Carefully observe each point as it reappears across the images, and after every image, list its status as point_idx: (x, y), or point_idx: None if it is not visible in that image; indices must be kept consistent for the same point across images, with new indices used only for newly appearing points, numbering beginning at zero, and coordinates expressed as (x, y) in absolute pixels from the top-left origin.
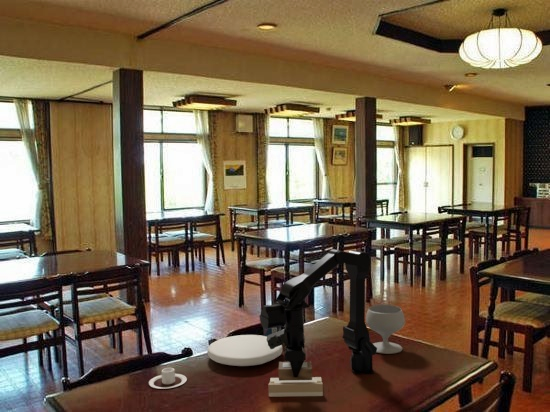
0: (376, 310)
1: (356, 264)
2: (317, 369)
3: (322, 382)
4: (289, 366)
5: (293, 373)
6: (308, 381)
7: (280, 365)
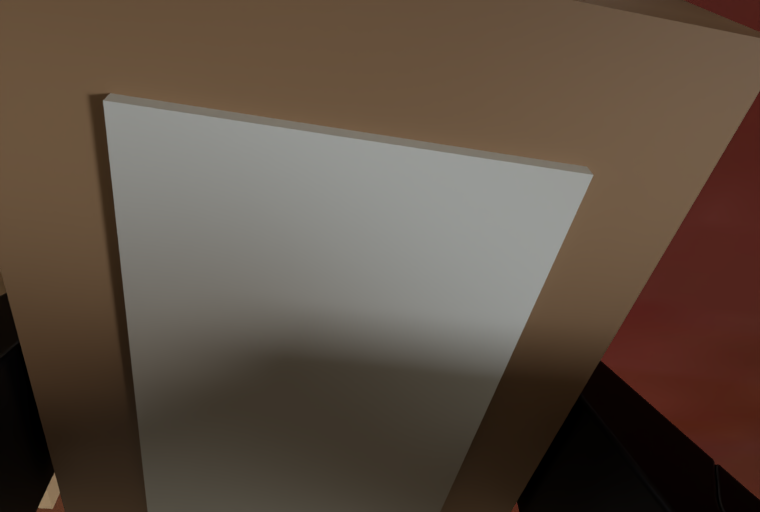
0: None
1: None
2: (713, 420)
3: (51, 507)
4: (193, 323)
5: (3, 305)
6: None
7: (379, 44)
